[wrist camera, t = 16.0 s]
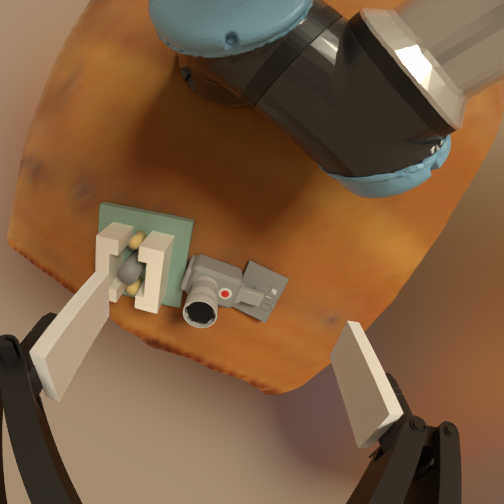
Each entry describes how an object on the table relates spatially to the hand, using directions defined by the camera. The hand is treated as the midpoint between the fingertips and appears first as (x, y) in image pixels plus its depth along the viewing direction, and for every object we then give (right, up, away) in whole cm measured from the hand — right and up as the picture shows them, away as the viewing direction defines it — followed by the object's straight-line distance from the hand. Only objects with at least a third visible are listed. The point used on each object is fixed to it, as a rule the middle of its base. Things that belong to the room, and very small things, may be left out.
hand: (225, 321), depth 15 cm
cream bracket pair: (-16, +3, +28) cm, 32 cm away
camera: (-2, -1, +32) cm, 32 cm away
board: (-16, +3, +29) cm, 34 cm away
